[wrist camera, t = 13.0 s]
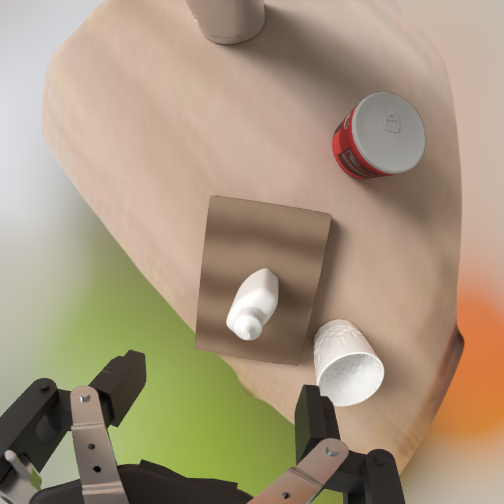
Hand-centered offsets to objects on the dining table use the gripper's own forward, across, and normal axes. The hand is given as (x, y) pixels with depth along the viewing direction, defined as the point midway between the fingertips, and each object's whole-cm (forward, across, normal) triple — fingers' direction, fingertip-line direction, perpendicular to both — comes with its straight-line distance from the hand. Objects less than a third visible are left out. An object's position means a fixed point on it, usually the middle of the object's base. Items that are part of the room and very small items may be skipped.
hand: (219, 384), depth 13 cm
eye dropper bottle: (+21, -1, +2) cm, 21 cm away
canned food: (+25, -11, -17) cm, 32 cm away
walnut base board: (+24, -1, +2) cm, 24 cm away
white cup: (+24, -13, +9) cm, 29 cm away
